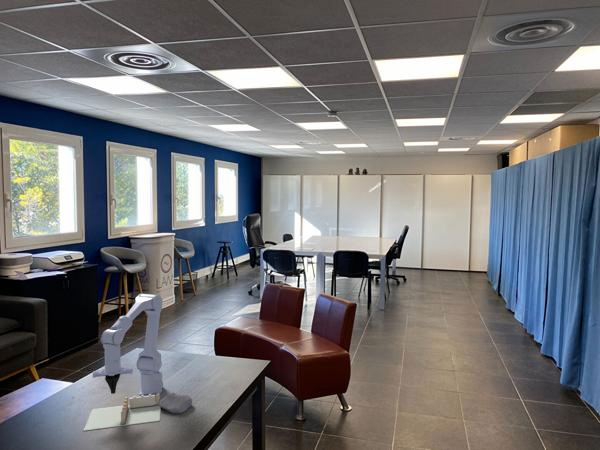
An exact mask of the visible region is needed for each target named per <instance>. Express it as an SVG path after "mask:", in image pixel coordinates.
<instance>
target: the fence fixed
mask: <svg viewBox="0 0 600 450" xmlns="http://www.w3.org/2000/svg"><path fill="white" fill-rule="evenodd" d="M124 400H127V407H128V405H129V406H130V408H136V407H144V406H152V405H155V402H156V405H157V406H158V405H159V403H160V400H161V393H155V394H148V395H139V396H137V395H133V396H132V397H131V396H130V397H128V396H125V397H124Z"/></svg>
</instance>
